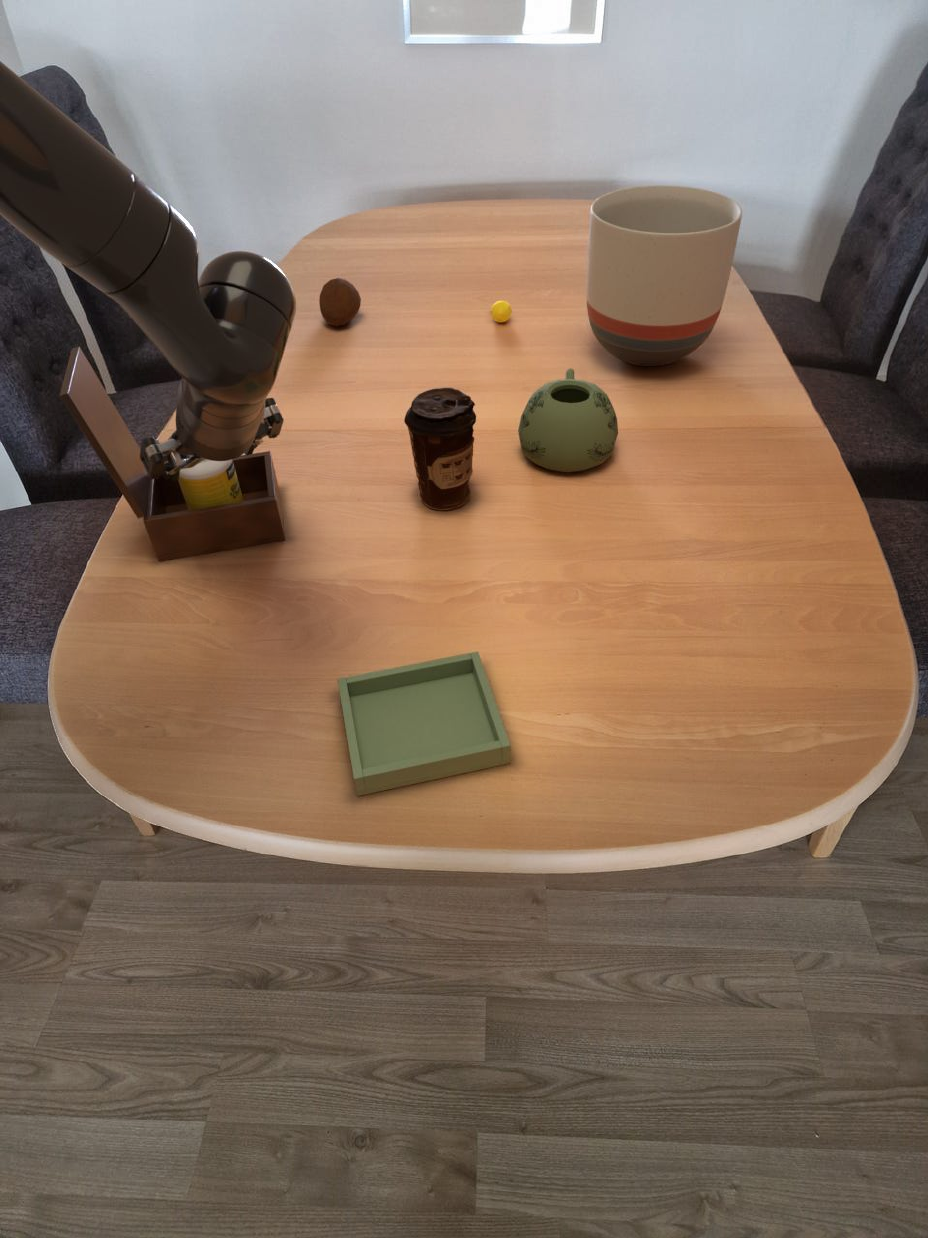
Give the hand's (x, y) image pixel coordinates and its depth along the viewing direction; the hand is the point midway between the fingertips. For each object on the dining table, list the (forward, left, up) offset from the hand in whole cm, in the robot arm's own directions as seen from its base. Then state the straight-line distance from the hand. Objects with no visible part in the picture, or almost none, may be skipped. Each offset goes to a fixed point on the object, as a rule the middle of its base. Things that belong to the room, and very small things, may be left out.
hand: (208, 459), depth 89 cm
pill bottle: (-1, +2, -10) cm, 10 cm away
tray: (+16, -35, -10) cm, 40 cm away
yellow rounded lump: (+46, +48, -11) cm, 68 cm away
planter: (+64, +28, -11) cm, 71 cm away
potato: (+20, +56, -11) cm, 61 cm away
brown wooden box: (-1, +2, -10) cm, 11 cm away
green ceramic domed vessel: (+44, +7, -11) cm, 46 cm away
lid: (-9, +2, +3) cm, 10 cm away
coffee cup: (+26, 0, -11) cm, 29 cm away
